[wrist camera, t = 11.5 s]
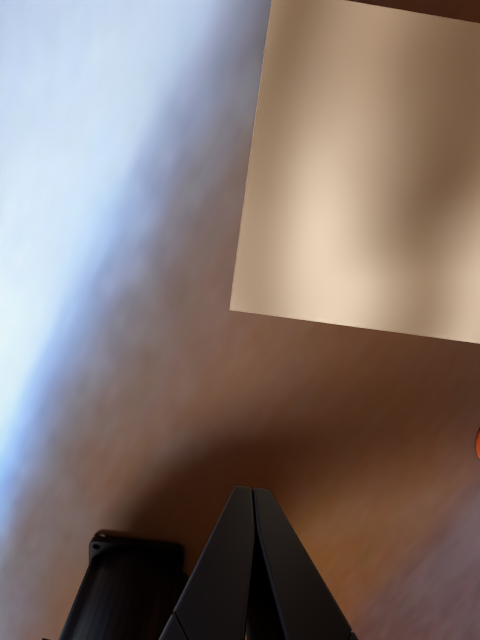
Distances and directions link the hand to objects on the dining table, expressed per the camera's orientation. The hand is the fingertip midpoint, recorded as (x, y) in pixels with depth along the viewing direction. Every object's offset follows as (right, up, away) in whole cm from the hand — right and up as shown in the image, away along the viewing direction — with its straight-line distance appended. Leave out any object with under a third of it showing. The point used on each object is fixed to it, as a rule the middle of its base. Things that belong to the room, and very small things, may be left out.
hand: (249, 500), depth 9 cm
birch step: (+7, +10, +9) cm, 15 cm away
